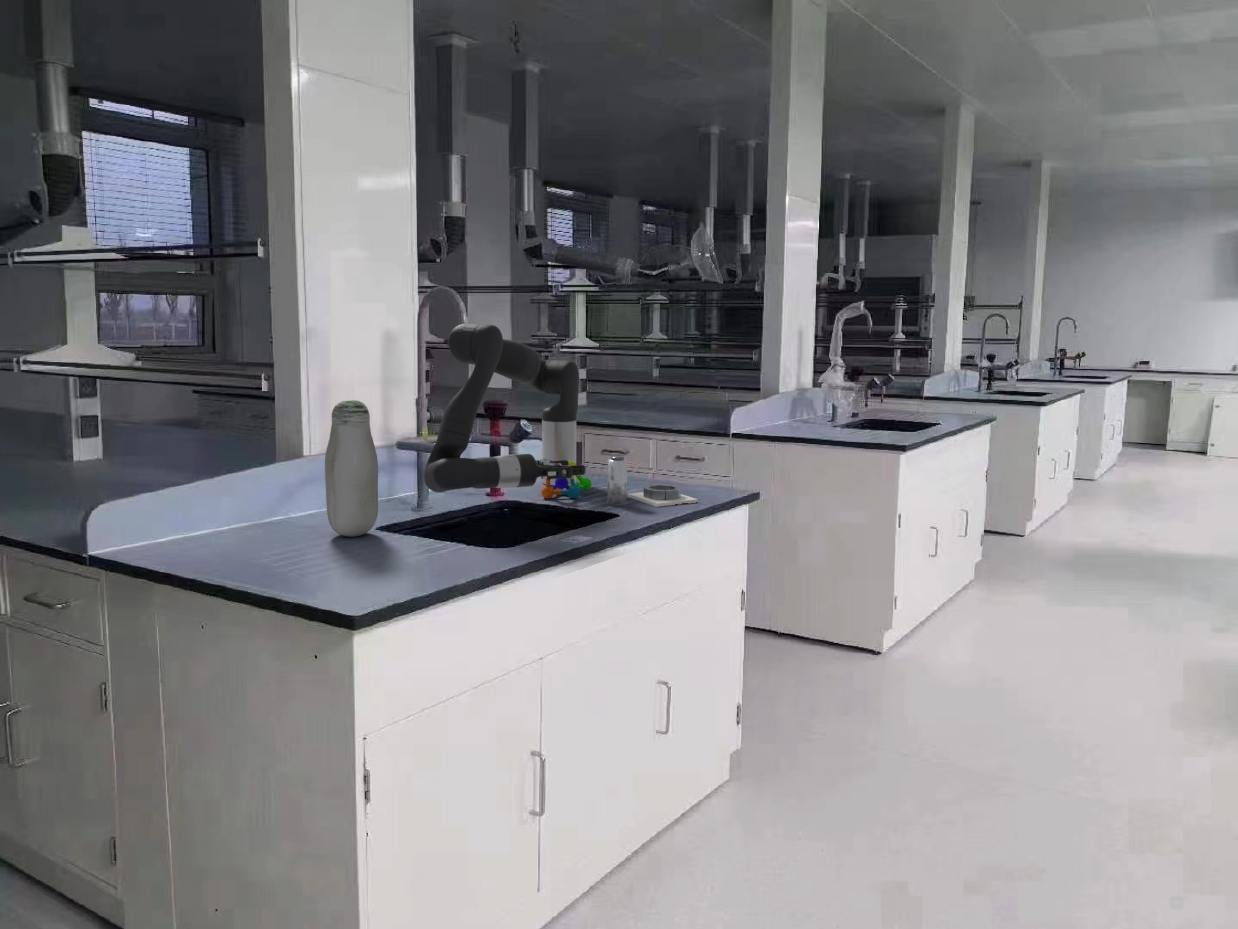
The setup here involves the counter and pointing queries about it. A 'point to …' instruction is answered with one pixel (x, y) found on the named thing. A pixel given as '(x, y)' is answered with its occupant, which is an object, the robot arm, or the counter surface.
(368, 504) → the grey bottle
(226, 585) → the counter surface
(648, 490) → the collar
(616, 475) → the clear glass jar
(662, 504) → the plate
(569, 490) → the molecular model
